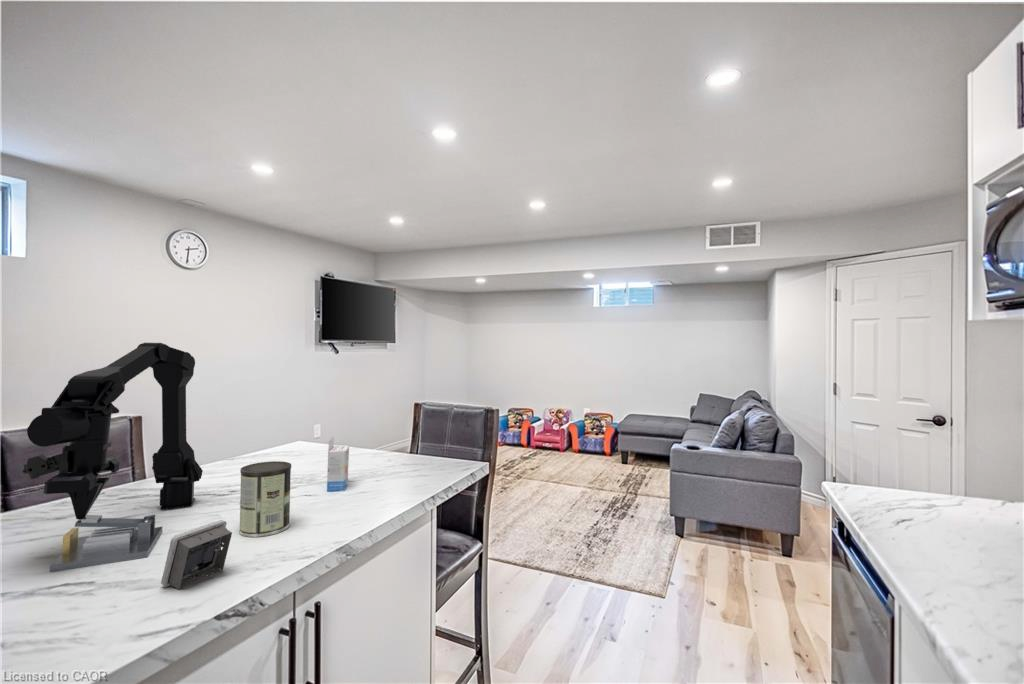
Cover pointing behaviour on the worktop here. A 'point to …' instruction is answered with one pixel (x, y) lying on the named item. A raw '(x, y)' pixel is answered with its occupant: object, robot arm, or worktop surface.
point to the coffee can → (265, 498)
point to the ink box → (337, 467)
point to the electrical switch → (196, 555)
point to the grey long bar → (109, 522)
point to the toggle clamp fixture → (107, 545)
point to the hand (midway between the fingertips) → (80, 518)
